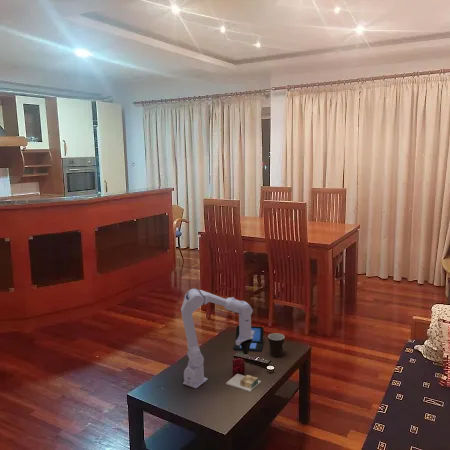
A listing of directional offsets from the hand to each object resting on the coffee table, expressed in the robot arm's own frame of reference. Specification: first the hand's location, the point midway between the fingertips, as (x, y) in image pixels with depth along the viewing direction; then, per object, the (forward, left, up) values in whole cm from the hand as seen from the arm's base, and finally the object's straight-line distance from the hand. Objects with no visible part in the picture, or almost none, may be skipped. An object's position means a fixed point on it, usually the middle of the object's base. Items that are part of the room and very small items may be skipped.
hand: (245, 353), depth 206 cm
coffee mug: (+26, -4, -10) cm, 28 cm away
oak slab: (-9, -4, -8) cm, 13 cm away
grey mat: (-9, -4, -10) cm, 14 cm away
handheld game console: (+26, +14, -10) cm, 31 cm away
